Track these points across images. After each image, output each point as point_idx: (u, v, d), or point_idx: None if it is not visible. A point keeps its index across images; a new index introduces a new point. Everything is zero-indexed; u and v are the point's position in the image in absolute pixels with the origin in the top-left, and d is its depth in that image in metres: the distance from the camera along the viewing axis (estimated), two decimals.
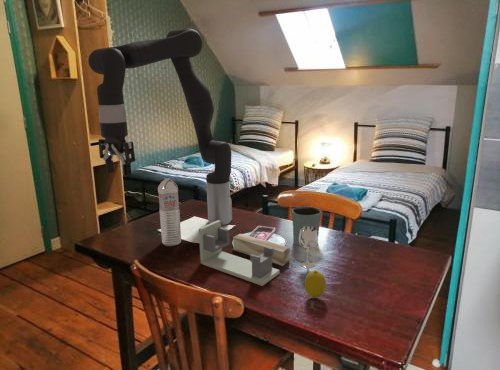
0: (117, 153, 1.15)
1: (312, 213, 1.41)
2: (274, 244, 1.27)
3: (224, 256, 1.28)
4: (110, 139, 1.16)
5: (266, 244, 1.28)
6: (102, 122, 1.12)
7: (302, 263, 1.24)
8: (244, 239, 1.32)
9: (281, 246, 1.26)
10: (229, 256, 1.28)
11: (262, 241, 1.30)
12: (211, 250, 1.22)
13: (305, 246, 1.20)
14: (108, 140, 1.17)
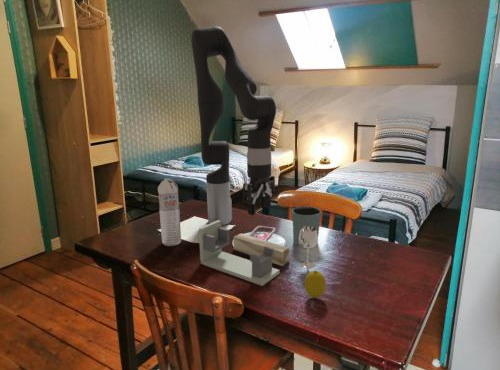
0: (269, 188, 1.26)
1: (312, 213, 1.41)
2: (274, 244, 1.27)
3: (224, 256, 1.28)
4: (261, 179, 1.23)
5: (266, 244, 1.28)
6: (269, 163, 1.21)
7: (302, 263, 1.24)
8: (244, 239, 1.32)
9: (281, 246, 1.26)
10: (229, 256, 1.28)
11: (262, 241, 1.30)
12: (211, 250, 1.22)
13: (305, 246, 1.20)
14: (259, 181, 1.22)
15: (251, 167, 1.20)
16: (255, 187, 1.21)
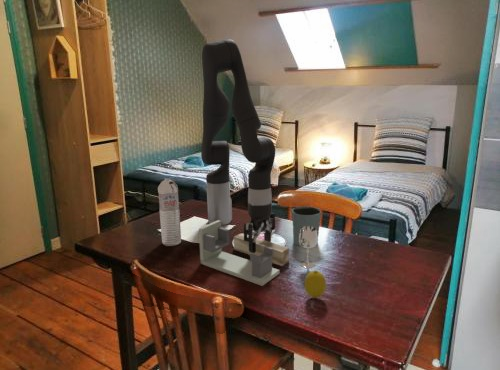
0: (269, 226, 1.29)
1: (312, 213, 1.41)
2: (274, 244, 1.27)
3: (224, 256, 1.28)
4: (261, 218, 1.26)
5: (266, 244, 1.28)
6: (270, 203, 1.24)
7: (302, 263, 1.24)
8: None
9: (281, 246, 1.26)
10: (229, 256, 1.28)
11: (262, 241, 1.30)
12: (211, 250, 1.22)
13: (305, 246, 1.20)
14: (259, 220, 1.25)
15: (252, 207, 1.23)
16: (256, 226, 1.24)
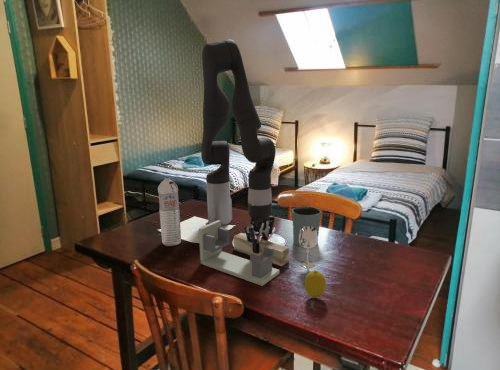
0: (268, 228, 1.29)
1: (312, 213, 1.41)
2: (274, 244, 1.27)
3: (224, 256, 1.28)
4: (261, 218, 1.26)
5: (266, 244, 1.28)
6: (270, 203, 1.24)
7: (302, 263, 1.24)
8: (244, 238, 1.32)
9: (281, 246, 1.26)
10: (229, 256, 1.28)
11: (262, 241, 1.30)
12: (211, 250, 1.22)
13: (305, 246, 1.20)
14: (259, 220, 1.25)
15: (252, 207, 1.23)
16: (256, 228, 1.25)
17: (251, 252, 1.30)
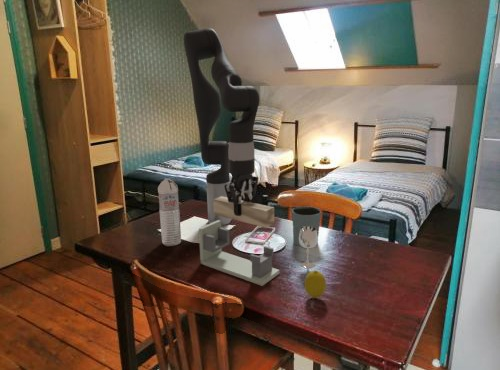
0: (250, 188, 1.17)
1: (312, 213, 1.41)
2: (258, 205, 1.16)
3: (224, 256, 1.28)
4: (243, 176, 1.14)
5: (249, 204, 1.16)
6: (252, 158, 1.12)
7: (302, 263, 1.24)
8: (225, 201, 1.20)
9: (265, 206, 1.14)
10: (229, 256, 1.28)
11: (245, 202, 1.18)
12: (211, 250, 1.22)
13: (305, 246, 1.20)
14: (241, 178, 1.14)
15: (233, 163, 1.12)
16: (238, 187, 1.13)
17: (233, 215, 1.18)
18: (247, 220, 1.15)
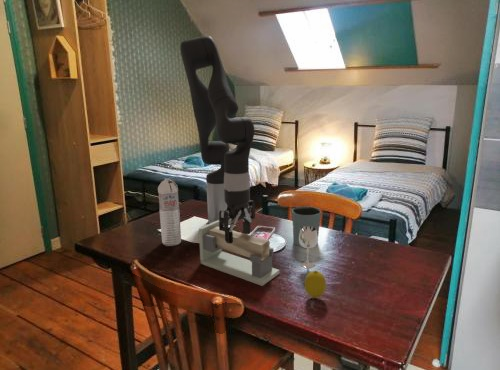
0: (248, 214, 1.19)
1: (312, 213, 1.41)
2: (253, 237, 1.17)
3: (224, 256, 1.28)
4: (238, 205, 1.15)
5: (244, 237, 1.17)
6: (247, 188, 1.13)
7: (302, 263, 1.24)
8: (221, 232, 1.21)
9: (260, 239, 1.16)
10: (229, 256, 1.28)
11: (240, 234, 1.20)
12: (211, 250, 1.22)
13: (305, 246, 1.20)
14: (236, 207, 1.15)
15: (228, 193, 1.13)
16: (232, 214, 1.14)
17: (228, 247, 1.20)
18: (243, 252, 1.17)
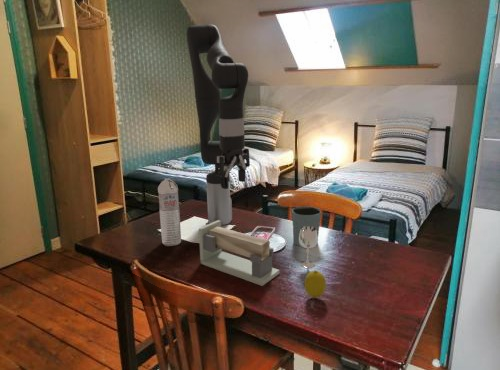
0: (243, 161, 1.22)
1: (312, 213, 1.41)
2: (253, 237, 1.17)
3: (224, 256, 1.28)
4: (234, 151, 1.18)
5: (244, 237, 1.17)
6: (242, 134, 1.16)
7: (302, 263, 1.24)
8: (221, 232, 1.21)
9: (260, 239, 1.16)
10: (229, 256, 1.28)
11: (240, 234, 1.20)
12: (211, 250, 1.22)
13: (305, 246, 1.20)
14: (231, 153, 1.18)
15: (223, 139, 1.15)
16: (228, 160, 1.17)
17: (228, 247, 1.20)
18: (243, 252, 1.17)
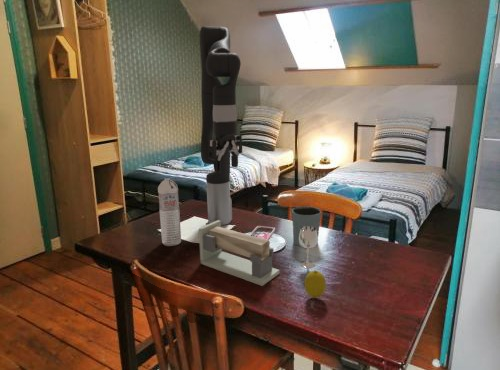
0: (235, 147, 1.28)
1: (312, 213, 1.41)
2: (253, 237, 1.17)
3: (224, 256, 1.28)
4: (226, 137, 1.25)
5: (244, 237, 1.17)
6: (234, 120, 1.23)
7: (302, 263, 1.24)
8: (221, 232, 1.21)
9: (260, 239, 1.16)
10: (229, 256, 1.28)
11: (240, 234, 1.20)
12: (211, 250, 1.22)
13: (305, 246, 1.20)
14: (224, 138, 1.24)
15: (216, 124, 1.22)
16: (220, 144, 1.23)
17: (228, 247, 1.20)
18: (243, 252, 1.17)
